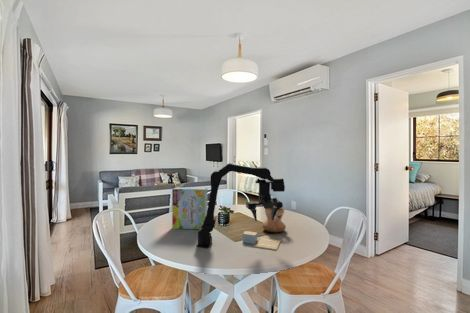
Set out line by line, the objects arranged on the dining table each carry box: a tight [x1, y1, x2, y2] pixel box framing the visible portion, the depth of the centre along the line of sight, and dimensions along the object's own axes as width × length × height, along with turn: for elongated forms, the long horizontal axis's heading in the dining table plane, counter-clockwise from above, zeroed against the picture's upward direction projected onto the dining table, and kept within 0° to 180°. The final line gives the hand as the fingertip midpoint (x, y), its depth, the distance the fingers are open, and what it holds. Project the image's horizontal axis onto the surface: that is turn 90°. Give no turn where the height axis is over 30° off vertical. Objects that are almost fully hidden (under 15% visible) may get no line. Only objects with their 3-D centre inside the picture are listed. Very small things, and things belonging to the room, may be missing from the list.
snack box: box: [171, 186, 208, 230], centre depth 158 cm, size 22×9×26 cm, turn 84°
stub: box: [242, 230, 258, 245], centre depth 135 cm, size 7×5×5 cm
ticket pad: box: [253, 237, 282, 251], centre depth 132 cm, size 12×13×1 cm
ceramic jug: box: [262, 207, 287, 234], centre depth 155 cm, size 18×14×14 cm
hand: (264, 220), depth 129 cm, fingers open, 9 cm apart
